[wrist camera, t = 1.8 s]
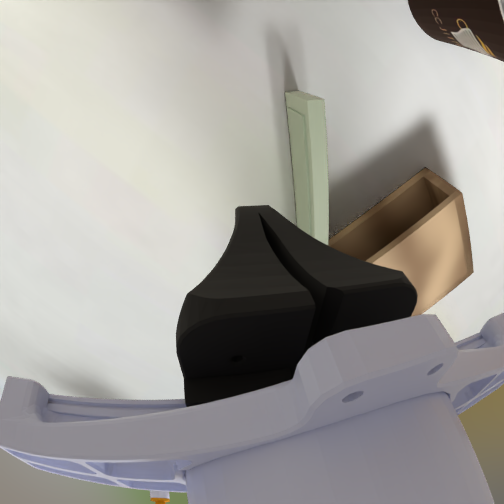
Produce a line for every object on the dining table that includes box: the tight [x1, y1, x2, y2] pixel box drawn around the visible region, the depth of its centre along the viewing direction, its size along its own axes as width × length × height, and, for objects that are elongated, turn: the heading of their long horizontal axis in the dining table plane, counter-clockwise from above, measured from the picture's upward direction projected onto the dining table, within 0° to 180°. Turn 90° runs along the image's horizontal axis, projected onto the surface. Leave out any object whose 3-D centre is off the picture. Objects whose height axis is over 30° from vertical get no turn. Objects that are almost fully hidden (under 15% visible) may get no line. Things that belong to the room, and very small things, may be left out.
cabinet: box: [328, 167, 473, 317], centre depth 26 cm, size 15×13×5 cm
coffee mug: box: [408, 0, 504, 62], centre depth 11 cm, size 12×9×10 cm
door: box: [285, 91, 329, 245], centre depth 20 cm, size 13×1×5 cm, turn 8°
